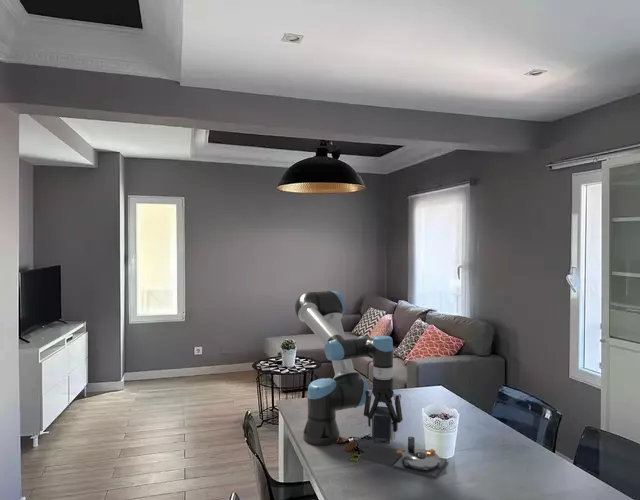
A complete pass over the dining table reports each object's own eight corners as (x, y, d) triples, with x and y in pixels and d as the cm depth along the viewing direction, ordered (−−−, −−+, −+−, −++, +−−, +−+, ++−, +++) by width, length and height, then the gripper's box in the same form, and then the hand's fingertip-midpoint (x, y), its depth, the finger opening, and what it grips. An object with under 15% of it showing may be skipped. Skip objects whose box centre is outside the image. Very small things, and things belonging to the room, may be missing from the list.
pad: (359, 457, 173) (359, 456, 173) (373, 445, 184) (373, 443, 184) (392, 466, 166) (392, 464, 166) (404, 452, 178) (404, 450, 178)
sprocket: (419, 473, 158) (419, 454, 158) (393, 458, 170) (393, 440, 170) (448, 463, 166) (448, 445, 166) (422, 450, 177) (422, 432, 177)
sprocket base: (393, 468, 165) (393, 465, 165) (408, 452, 178) (408, 449, 178) (435, 479, 157) (435, 476, 157) (446, 461, 170) (446, 459, 170)
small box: (390, 444, 169) (390, 415, 169) (372, 443, 171) (372, 414, 171) (392, 433, 180) (391, 406, 180) (375, 432, 181) (375, 405, 181)
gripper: (354, 375, 177) (354, 435, 177) (405, 383, 167) (405, 446, 167) (362, 371, 184) (362, 428, 184) (412, 378, 173) (411, 439, 173)
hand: (382, 437), depth 175 cm, fingers closed on small box, 8 cm apart
